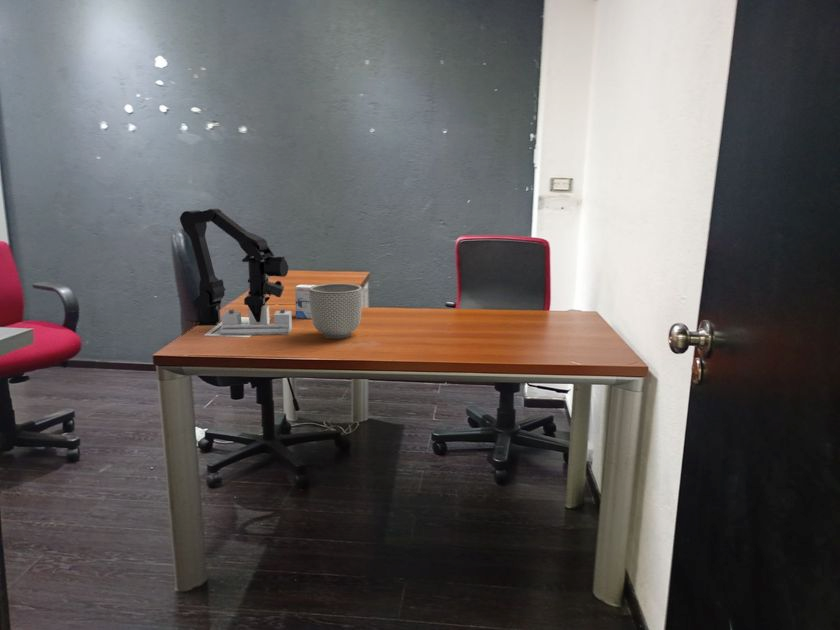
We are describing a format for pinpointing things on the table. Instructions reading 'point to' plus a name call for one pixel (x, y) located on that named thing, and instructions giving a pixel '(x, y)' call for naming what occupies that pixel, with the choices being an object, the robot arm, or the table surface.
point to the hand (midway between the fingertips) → (259, 320)
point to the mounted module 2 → (283, 317)
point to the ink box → (302, 301)
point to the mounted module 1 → (231, 317)
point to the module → (264, 316)
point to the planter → (336, 308)
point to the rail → (255, 329)
